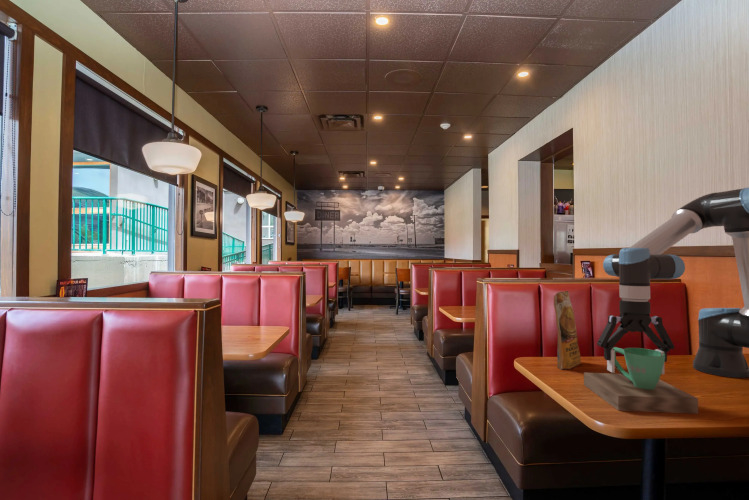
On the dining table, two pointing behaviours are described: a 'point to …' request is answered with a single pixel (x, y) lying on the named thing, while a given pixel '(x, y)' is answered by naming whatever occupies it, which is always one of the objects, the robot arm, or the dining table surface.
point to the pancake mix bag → (566, 332)
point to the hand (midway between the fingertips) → (635, 372)
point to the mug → (641, 366)
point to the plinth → (640, 395)
